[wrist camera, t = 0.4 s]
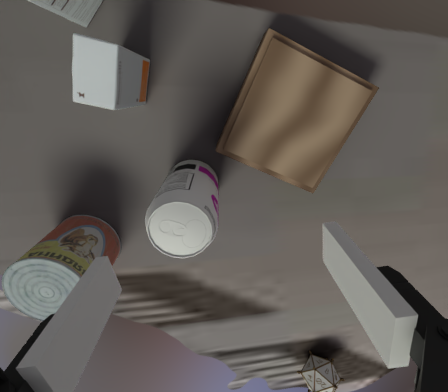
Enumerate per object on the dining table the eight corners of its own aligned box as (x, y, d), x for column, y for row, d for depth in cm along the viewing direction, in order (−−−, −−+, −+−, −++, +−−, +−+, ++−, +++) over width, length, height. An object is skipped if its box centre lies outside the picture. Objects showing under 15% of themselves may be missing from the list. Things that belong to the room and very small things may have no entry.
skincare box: (147, 105, 36) (115, 112, 25) (116, 98, 36) (70, 102, 25) (151, 58, 34) (118, 43, 23) (119, 50, 33) (69, 31, 22)
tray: (216, 146, 38) (215, 152, 35) (264, 33, 33) (269, 26, 29) (305, 185, 41) (314, 194, 37) (364, 87, 35) (381, 87, 32)
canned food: (132, 236, 45) (103, 285, 34) (104, 277, 48) (69, 333, 37) (71, 202, 42) (18, 243, 31) (46, 248, 45) (-10, 300, 34)
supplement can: (224, 166, 40) (227, 208, 26) (210, 211, 43) (206, 269, 29) (174, 151, 39) (149, 186, 25) (163, 198, 42) (135, 253, 28)
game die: (300, 345, 62) (283, 379, 54) (326, 336, 56) (311, 373, 49) (327, 377, 60) (313, 418, 52) (356, 371, 54) (346, 416, 47)
